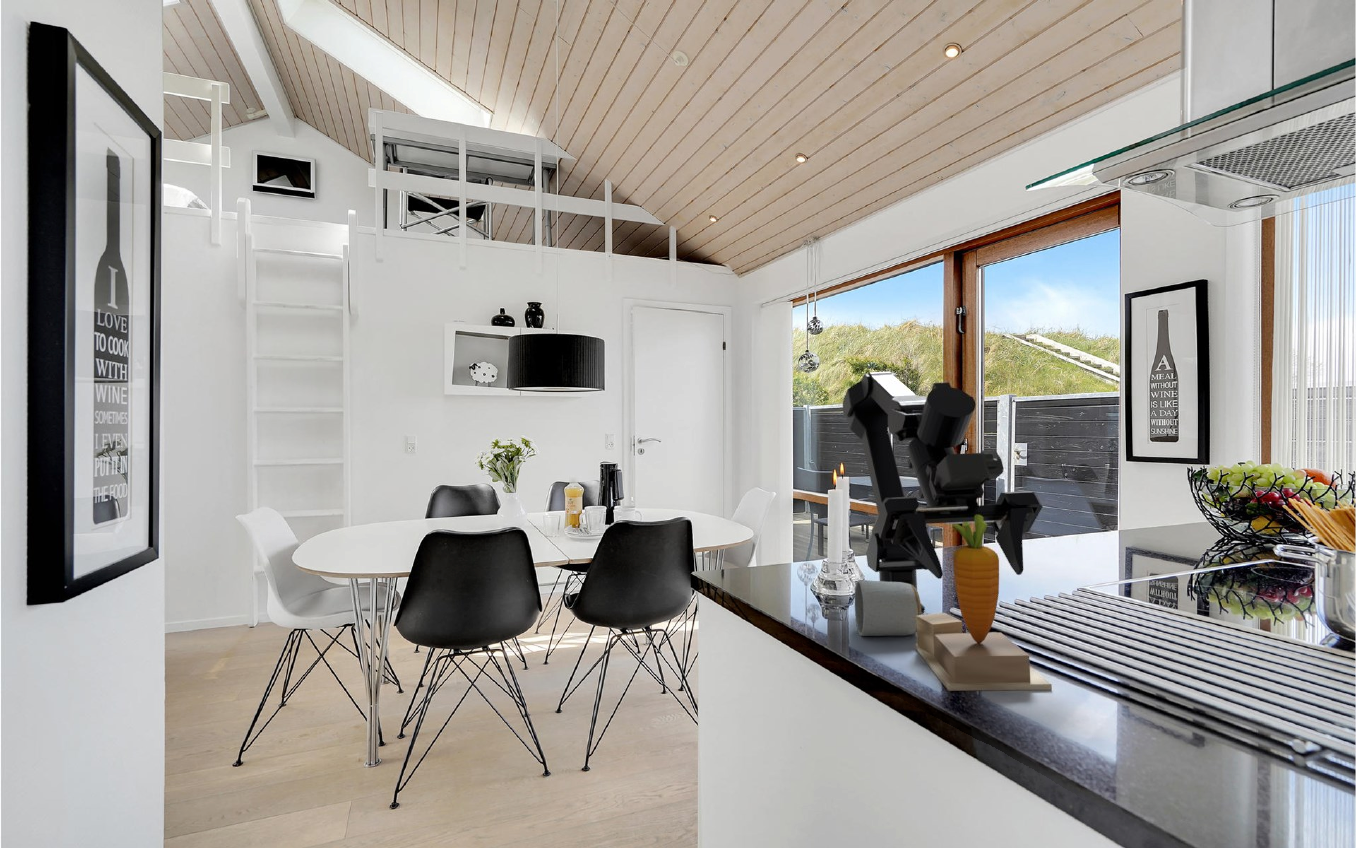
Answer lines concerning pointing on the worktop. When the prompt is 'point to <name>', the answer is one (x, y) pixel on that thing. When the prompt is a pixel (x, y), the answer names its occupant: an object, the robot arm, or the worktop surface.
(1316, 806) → the worktop surface
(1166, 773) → the worktop surface
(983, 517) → the robot arm
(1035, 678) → the birch board
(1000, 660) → the light brown square block
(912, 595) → the grey cylinder on side
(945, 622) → the oak cube
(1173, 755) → the worktop surface
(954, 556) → the carrot
